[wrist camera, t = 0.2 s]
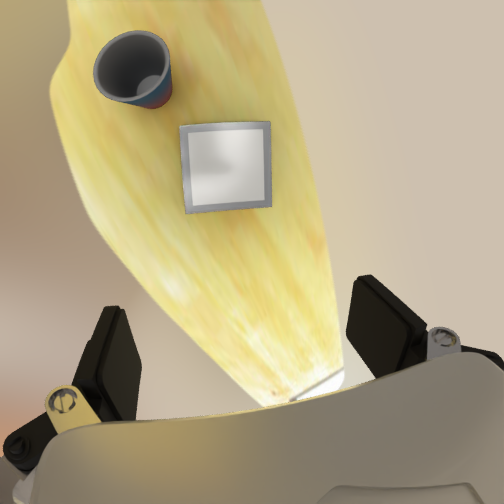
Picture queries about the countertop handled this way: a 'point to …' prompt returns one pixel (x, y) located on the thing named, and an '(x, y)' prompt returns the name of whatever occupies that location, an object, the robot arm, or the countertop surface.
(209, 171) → the riser
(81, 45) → the countertop surface
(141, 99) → the cup
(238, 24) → the countertop surface
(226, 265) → the countertop surface
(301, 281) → the countertop surface
